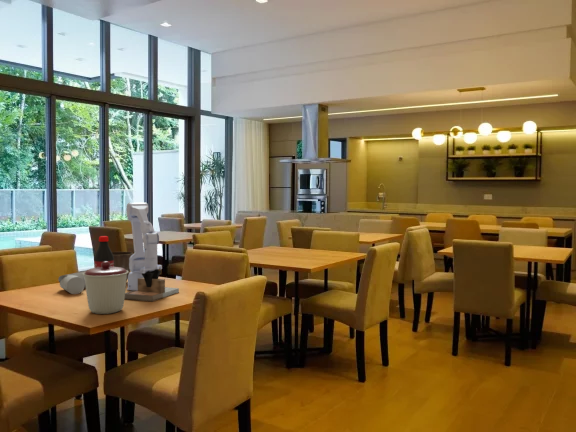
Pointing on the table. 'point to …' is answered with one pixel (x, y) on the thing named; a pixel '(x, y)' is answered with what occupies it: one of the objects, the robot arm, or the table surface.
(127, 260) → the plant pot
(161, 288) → the brown wooden block
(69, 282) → the bent grey cylinder
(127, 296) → the tray
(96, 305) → the canister
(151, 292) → the tile right
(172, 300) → the table surface
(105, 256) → the cola bottle
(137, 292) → the tile left
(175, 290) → the slate board
